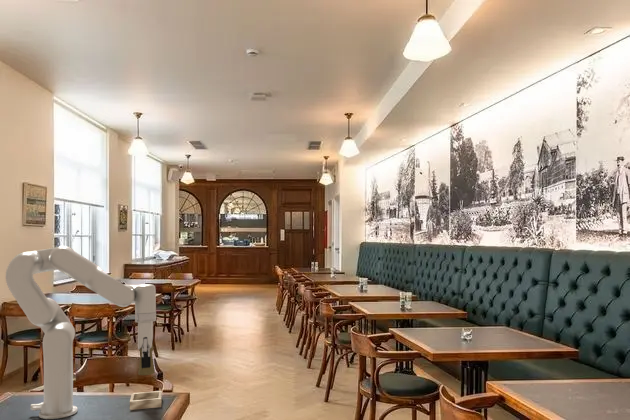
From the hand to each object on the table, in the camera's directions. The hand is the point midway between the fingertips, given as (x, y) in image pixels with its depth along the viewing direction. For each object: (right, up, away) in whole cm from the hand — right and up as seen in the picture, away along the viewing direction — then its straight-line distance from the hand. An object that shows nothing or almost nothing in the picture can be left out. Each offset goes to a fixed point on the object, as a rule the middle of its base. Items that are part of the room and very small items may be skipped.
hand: (146, 365), depth 207 cm
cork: (0, -3, 0) cm, 3 cm away
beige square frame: (0, -14, -1) cm, 14 cm away
